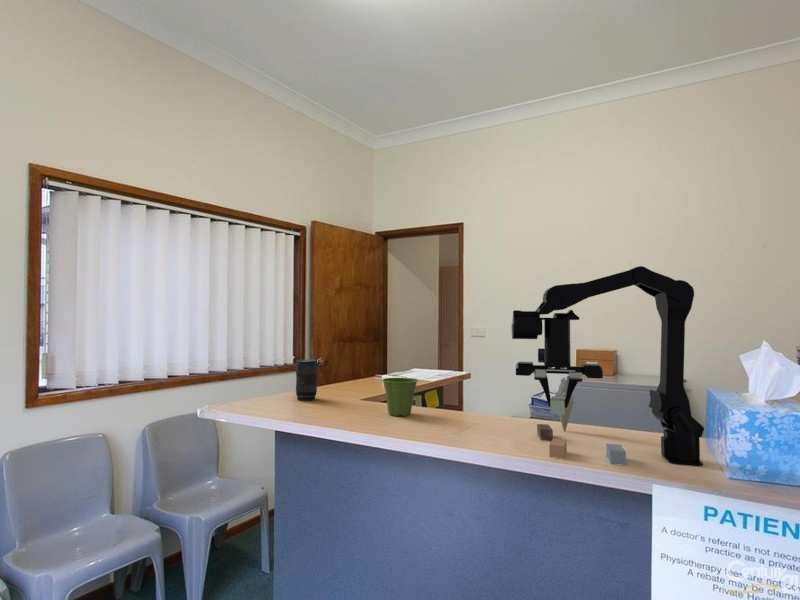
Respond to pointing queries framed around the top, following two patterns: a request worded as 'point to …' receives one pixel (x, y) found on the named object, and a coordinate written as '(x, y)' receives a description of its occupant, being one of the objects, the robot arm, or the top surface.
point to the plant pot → (399, 395)
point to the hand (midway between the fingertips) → (557, 407)
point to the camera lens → (306, 379)
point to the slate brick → (615, 454)
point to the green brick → (557, 405)
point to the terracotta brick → (557, 448)
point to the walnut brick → (544, 432)
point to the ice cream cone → (565, 418)
